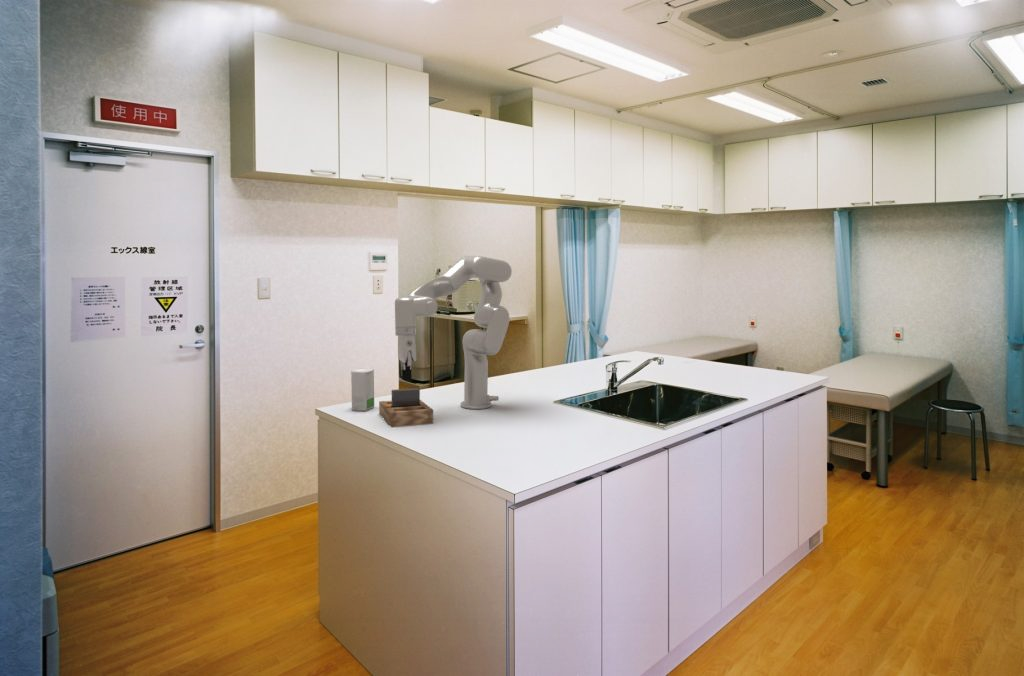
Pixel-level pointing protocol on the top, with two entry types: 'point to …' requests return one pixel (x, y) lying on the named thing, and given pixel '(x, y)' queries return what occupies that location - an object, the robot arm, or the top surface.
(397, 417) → the rack
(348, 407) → the top surface
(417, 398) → the panel
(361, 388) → the skincare box
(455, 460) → the top surface
